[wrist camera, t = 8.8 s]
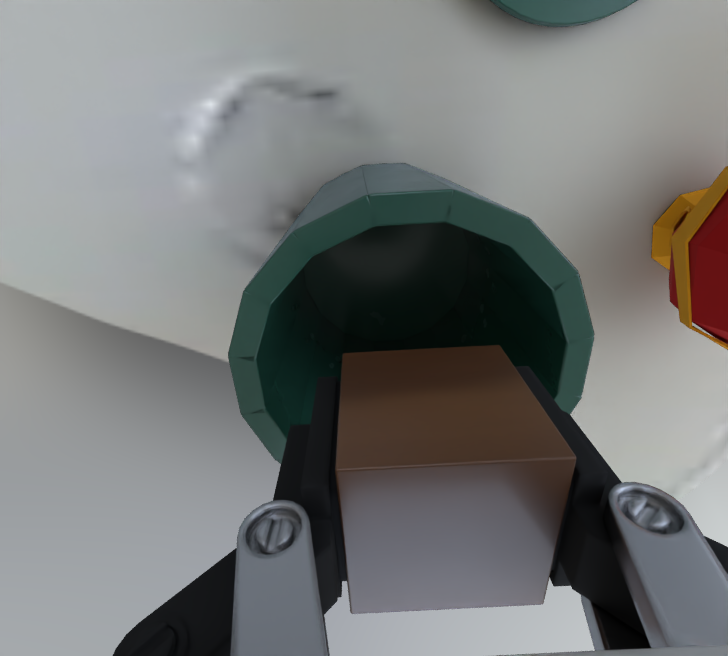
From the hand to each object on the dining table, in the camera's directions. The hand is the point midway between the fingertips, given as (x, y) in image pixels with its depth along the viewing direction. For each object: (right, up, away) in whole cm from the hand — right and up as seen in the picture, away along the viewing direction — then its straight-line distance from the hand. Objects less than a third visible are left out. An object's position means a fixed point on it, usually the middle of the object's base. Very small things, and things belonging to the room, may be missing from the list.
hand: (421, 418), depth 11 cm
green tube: (0, +6, +14) cm, 15 cm away
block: (0, 0, 0) cm, 0 cm away
